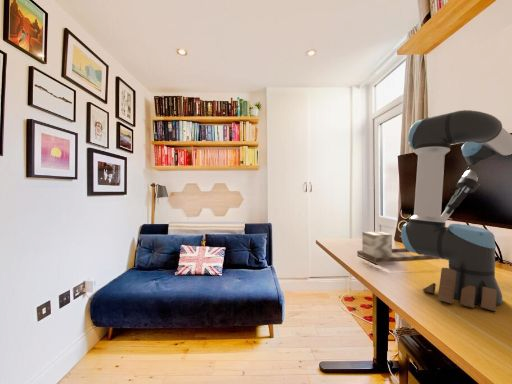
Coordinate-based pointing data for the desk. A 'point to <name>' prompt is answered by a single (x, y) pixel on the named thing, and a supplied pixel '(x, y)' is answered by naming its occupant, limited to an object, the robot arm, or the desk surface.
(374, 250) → the birch block
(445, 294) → the wooden block set
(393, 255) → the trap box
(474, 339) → the desk surface
